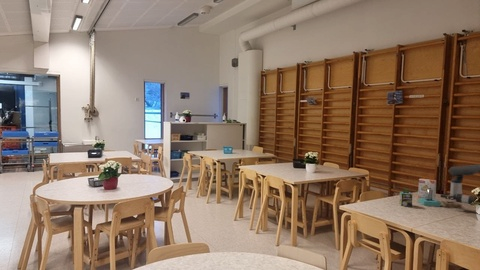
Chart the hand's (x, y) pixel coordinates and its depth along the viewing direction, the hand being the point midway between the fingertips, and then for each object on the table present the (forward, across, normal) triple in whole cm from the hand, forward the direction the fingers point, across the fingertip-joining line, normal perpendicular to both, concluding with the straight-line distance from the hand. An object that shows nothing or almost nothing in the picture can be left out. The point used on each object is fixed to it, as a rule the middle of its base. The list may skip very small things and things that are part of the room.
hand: (442, 195), depth 292 cm
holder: (-4, -11, +10) cm, 16 cm away
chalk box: (+22, +23, +11) cm, 34 cm away
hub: (+11, 0, +10) cm, 15 cm away
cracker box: (+18, -16, +11) cm, 26 cm away
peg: (+10, 0, +10) cm, 15 cm away
